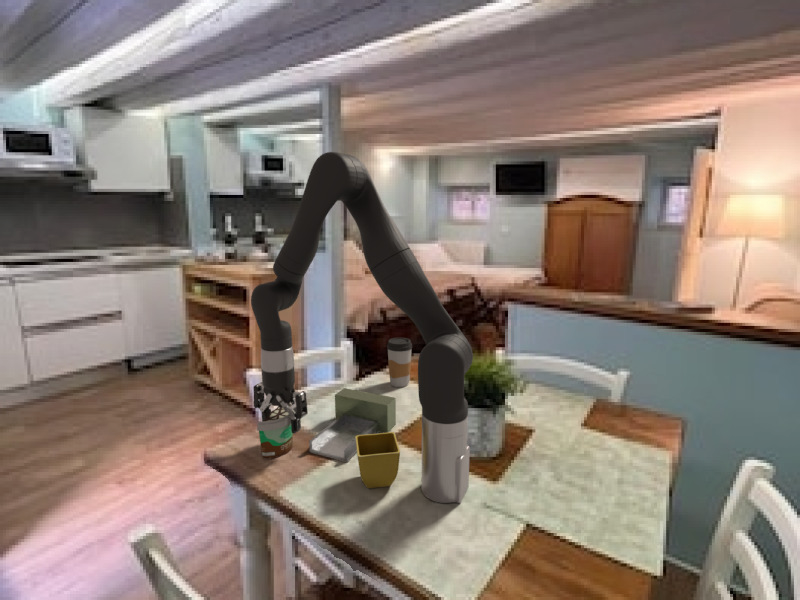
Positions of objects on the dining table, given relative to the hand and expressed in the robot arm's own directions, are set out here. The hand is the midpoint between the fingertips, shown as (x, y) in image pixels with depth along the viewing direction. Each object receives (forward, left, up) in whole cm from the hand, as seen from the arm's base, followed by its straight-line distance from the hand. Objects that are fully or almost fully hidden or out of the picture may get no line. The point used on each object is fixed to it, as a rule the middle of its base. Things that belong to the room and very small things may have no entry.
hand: (281, 428), depth 108 cm
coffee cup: (-9, -49, -6) cm, 50 cm away
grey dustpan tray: (-12, -12, -6) cm, 18 cm away
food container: (0, 0, -6) cm, 6 cm away
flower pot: (-27, +2, -6) cm, 28 cm away
